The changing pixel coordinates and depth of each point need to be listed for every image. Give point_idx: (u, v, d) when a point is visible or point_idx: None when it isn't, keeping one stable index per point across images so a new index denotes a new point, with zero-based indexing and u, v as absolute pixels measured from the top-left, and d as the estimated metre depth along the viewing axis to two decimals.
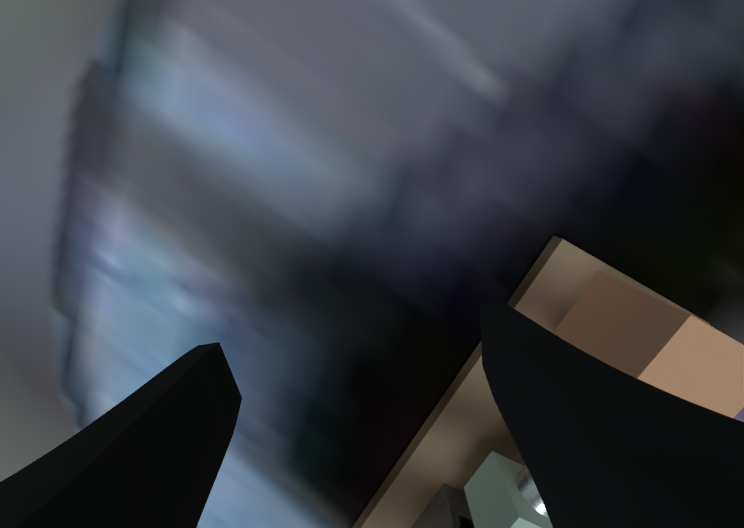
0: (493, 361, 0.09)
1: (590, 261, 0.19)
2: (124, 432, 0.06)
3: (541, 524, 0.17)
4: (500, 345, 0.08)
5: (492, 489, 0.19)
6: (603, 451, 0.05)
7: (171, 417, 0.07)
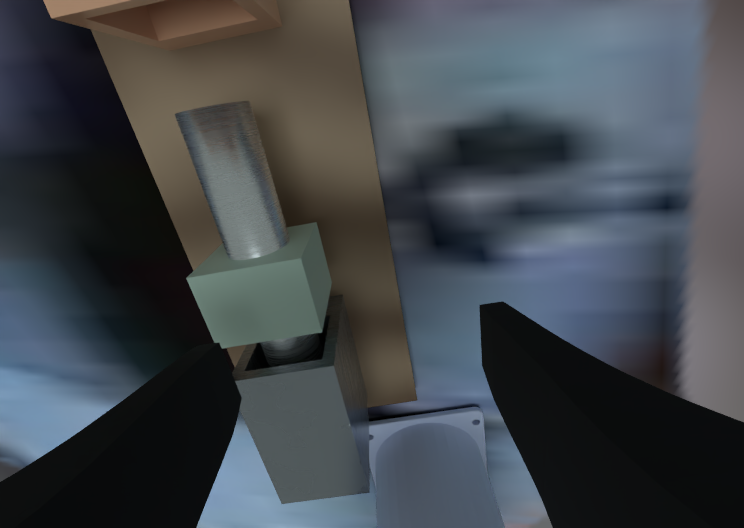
0: (493, 361, 0.09)
1: None
2: (124, 432, 0.06)
3: (226, 269, 0.12)
4: (500, 345, 0.08)
5: None
6: (603, 451, 0.05)
7: (171, 417, 0.07)
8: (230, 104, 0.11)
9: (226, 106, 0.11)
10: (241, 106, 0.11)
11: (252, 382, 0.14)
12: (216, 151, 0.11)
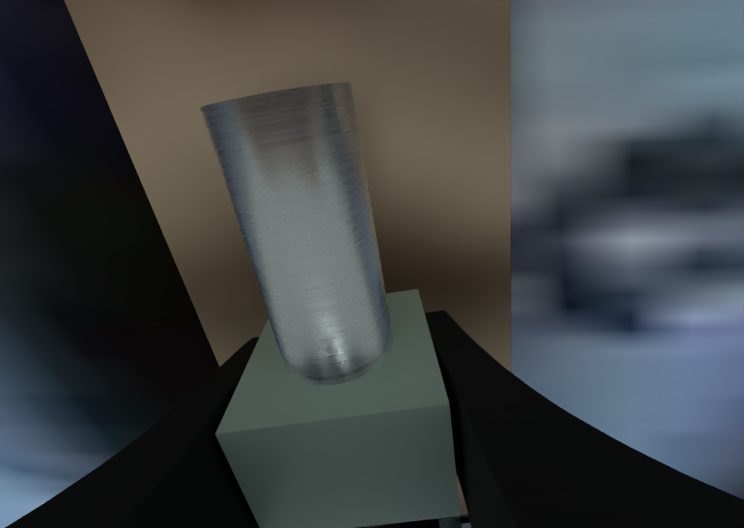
0: None
1: None
2: (207, 421, 0.06)
3: (293, 416, 0.06)
4: None
5: None
6: (482, 465, 0.05)
7: None
8: (326, 88, 0.05)
9: (318, 92, 0.05)
10: (343, 93, 0.05)
11: None
12: (291, 189, 0.05)
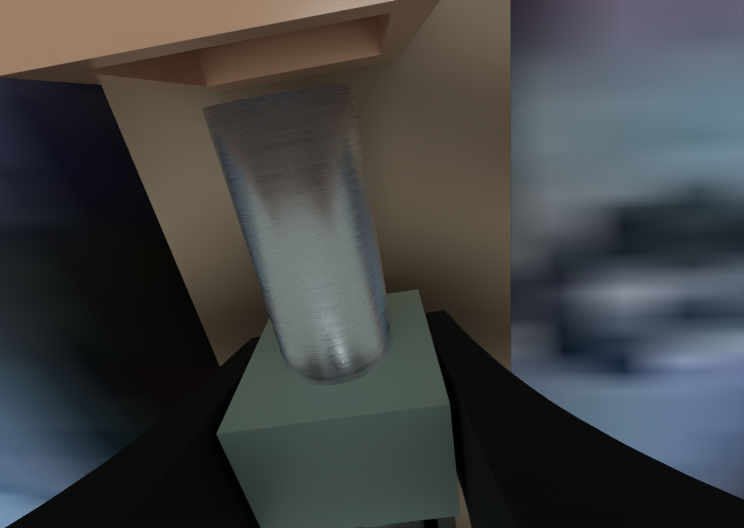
0: None
1: None
2: (207, 421, 0.06)
3: (295, 416, 0.06)
4: None
5: None
6: (483, 466, 0.05)
7: None
8: (327, 89, 0.05)
9: (319, 93, 0.05)
10: (345, 95, 0.05)
11: None
12: (292, 190, 0.05)
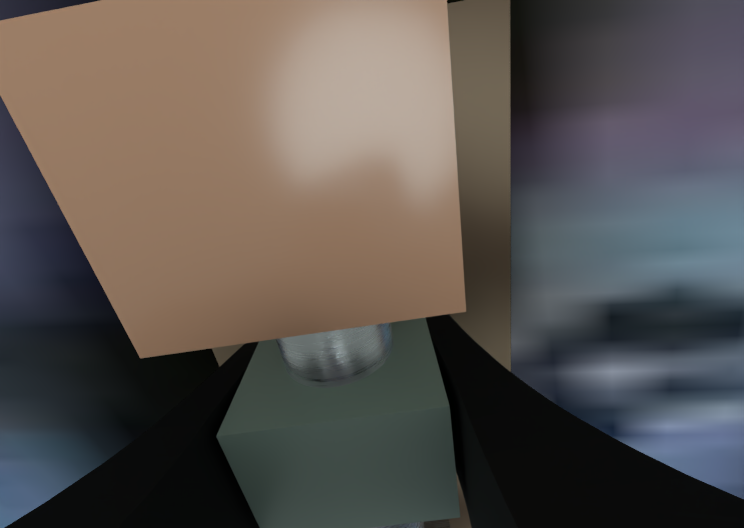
0: None
1: None
2: (206, 421, 0.06)
3: (295, 418, 0.06)
4: None
5: None
6: (483, 466, 0.05)
7: None
8: None
9: None
10: None
11: None
12: None
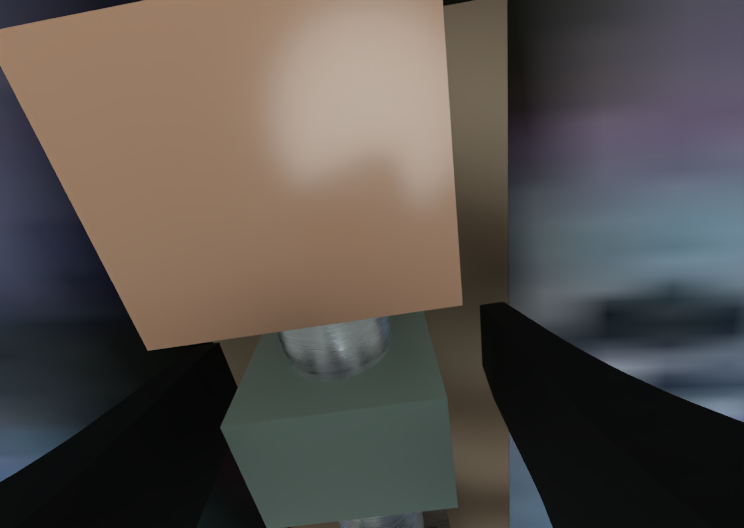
0: (493, 361, 0.09)
1: None
2: (124, 432, 0.06)
3: (296, 409, 0.06)
4: (500, 345, 0.08)
5: None
6: (603, 451, 0.05)
7: (171, 417, 0.07)
8: None
9: None
10: None
11: None
12: None
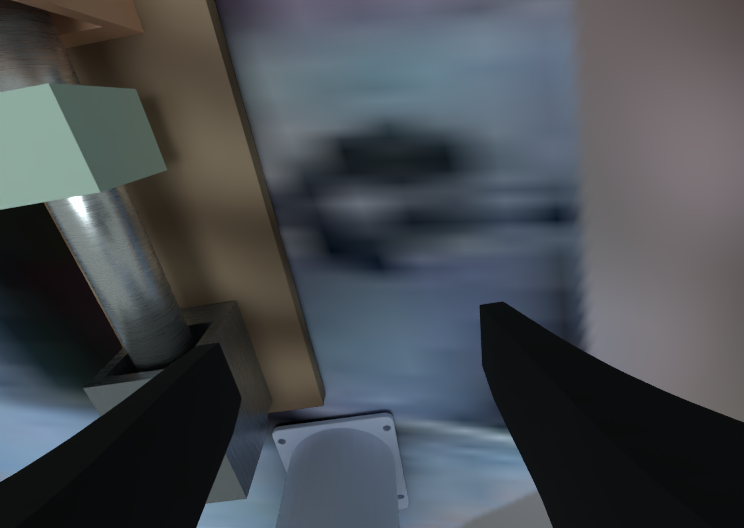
0: (493, 361, 0.09)
1: None
2: (124, 432, 0.06)
3: None
4: (500, 345, 0.08)
5: None
6: (603, 451, 0.05)
7: (171, 417, 0.07)
8: None
9: None
10: None
11: (108, 388, 0.14)
12: None
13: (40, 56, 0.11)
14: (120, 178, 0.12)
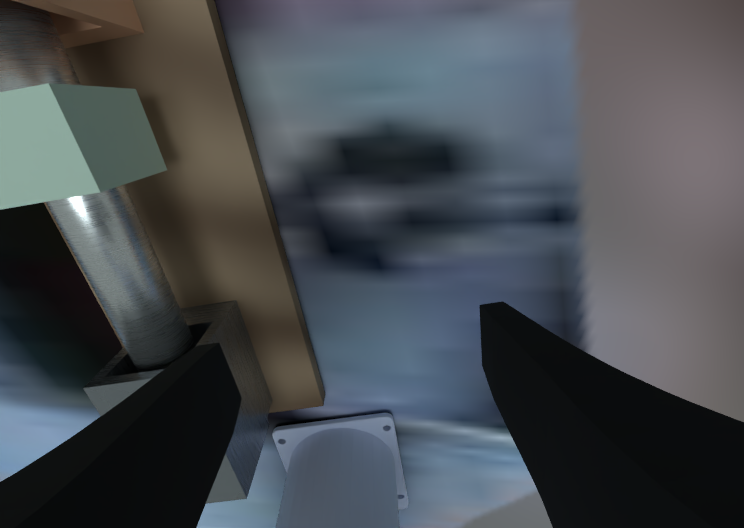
0: (493, 361, 0.09)
1: None
2: (124, 432, 0.06)
3: None
4: (500, 345, 0.08)
5: None
6: (603, 451, 0.05)
7: (171, 417, 0.07)
8: None
9: None
10: None
11: (108, 388, 0.14)
12: None
13: (40, 56, 0.11)
14: (120, 178, 0.12)
